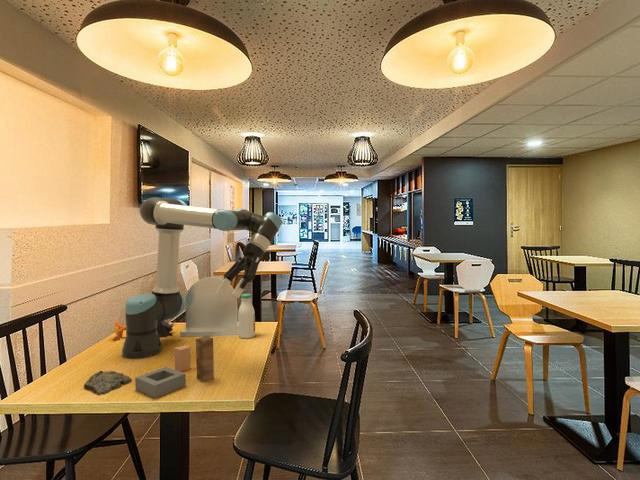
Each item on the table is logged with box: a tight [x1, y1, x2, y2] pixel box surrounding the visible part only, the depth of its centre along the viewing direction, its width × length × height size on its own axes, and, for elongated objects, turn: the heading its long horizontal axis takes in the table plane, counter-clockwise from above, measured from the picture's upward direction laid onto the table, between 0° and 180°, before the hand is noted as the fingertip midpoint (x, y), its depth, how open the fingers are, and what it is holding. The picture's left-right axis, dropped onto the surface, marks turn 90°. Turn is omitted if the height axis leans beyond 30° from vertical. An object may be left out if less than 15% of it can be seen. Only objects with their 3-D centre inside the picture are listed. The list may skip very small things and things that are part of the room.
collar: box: [134, 366, 187, 399], centre depth 126 cm, size 11×11×4 cm
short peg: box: [173, 345, 192, 373], centre depth 142 cm, size 4×4×8 cm
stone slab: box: [83, 370, 133, 396], centre depth 130 cm, size 12×17×3 cm
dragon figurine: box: [113, 320, 176, 340], centre depth 184 cm, size 10×12×25 cm
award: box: [179, 276, 239, 338], centre depth 187 cm, size 28×9×28 cm, turn 94°
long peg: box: [195, 336, 215, 383], centre depth 133 cm, size 4×4×14 cm
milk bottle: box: [237, 293, 256, 339], centre depth 182 cm, size 8×8×20 cm
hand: (226, 295), depth 140 cm, fingers open, 13 cm apart
